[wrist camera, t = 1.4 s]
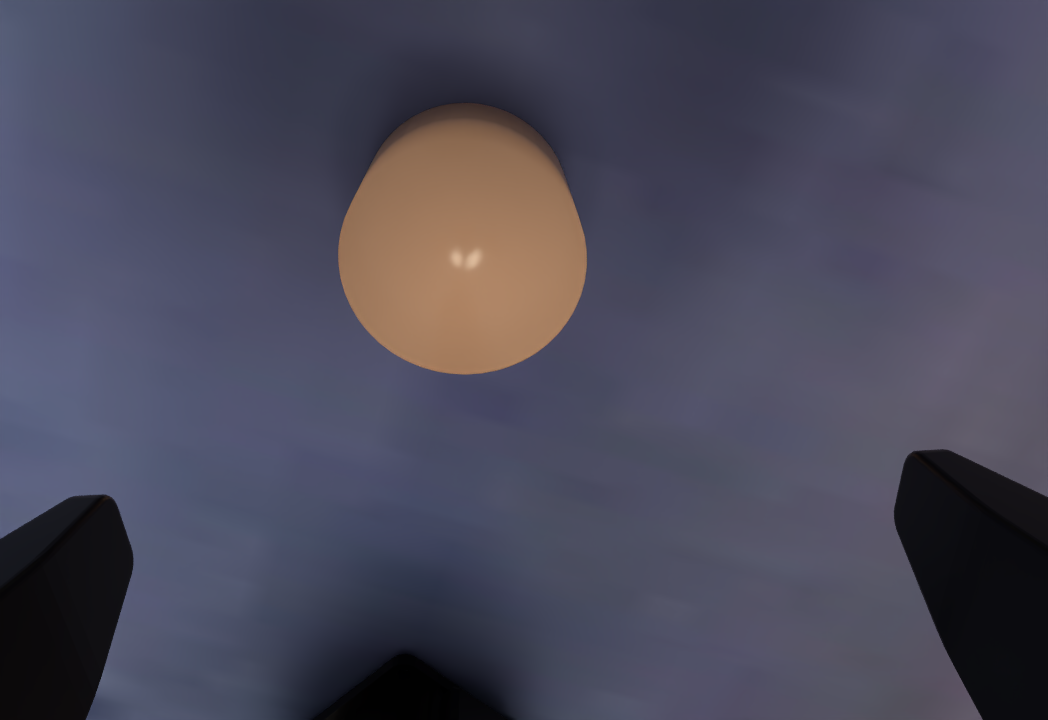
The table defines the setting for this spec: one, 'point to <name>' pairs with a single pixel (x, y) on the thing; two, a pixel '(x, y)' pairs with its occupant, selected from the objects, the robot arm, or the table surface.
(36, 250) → the table surface
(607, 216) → the table surface
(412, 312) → the orange-brown short cylinder
